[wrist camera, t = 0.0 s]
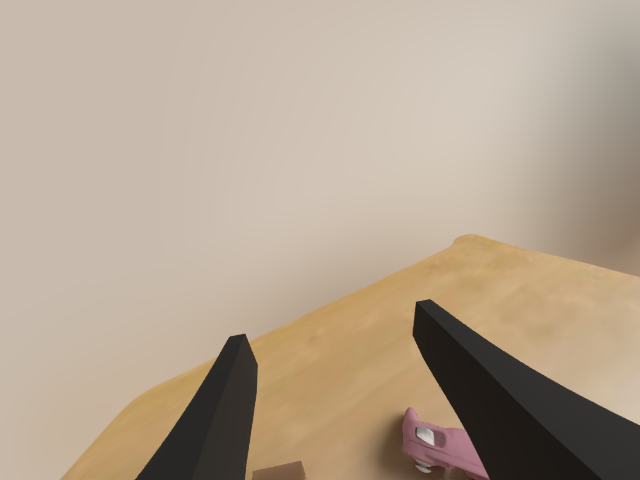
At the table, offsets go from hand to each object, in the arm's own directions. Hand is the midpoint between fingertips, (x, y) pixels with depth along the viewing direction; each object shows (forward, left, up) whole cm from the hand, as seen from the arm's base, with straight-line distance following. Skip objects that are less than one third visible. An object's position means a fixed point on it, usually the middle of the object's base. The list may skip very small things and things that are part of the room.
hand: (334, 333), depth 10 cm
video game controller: (+3, -10, -22) cm, 24 cm away
